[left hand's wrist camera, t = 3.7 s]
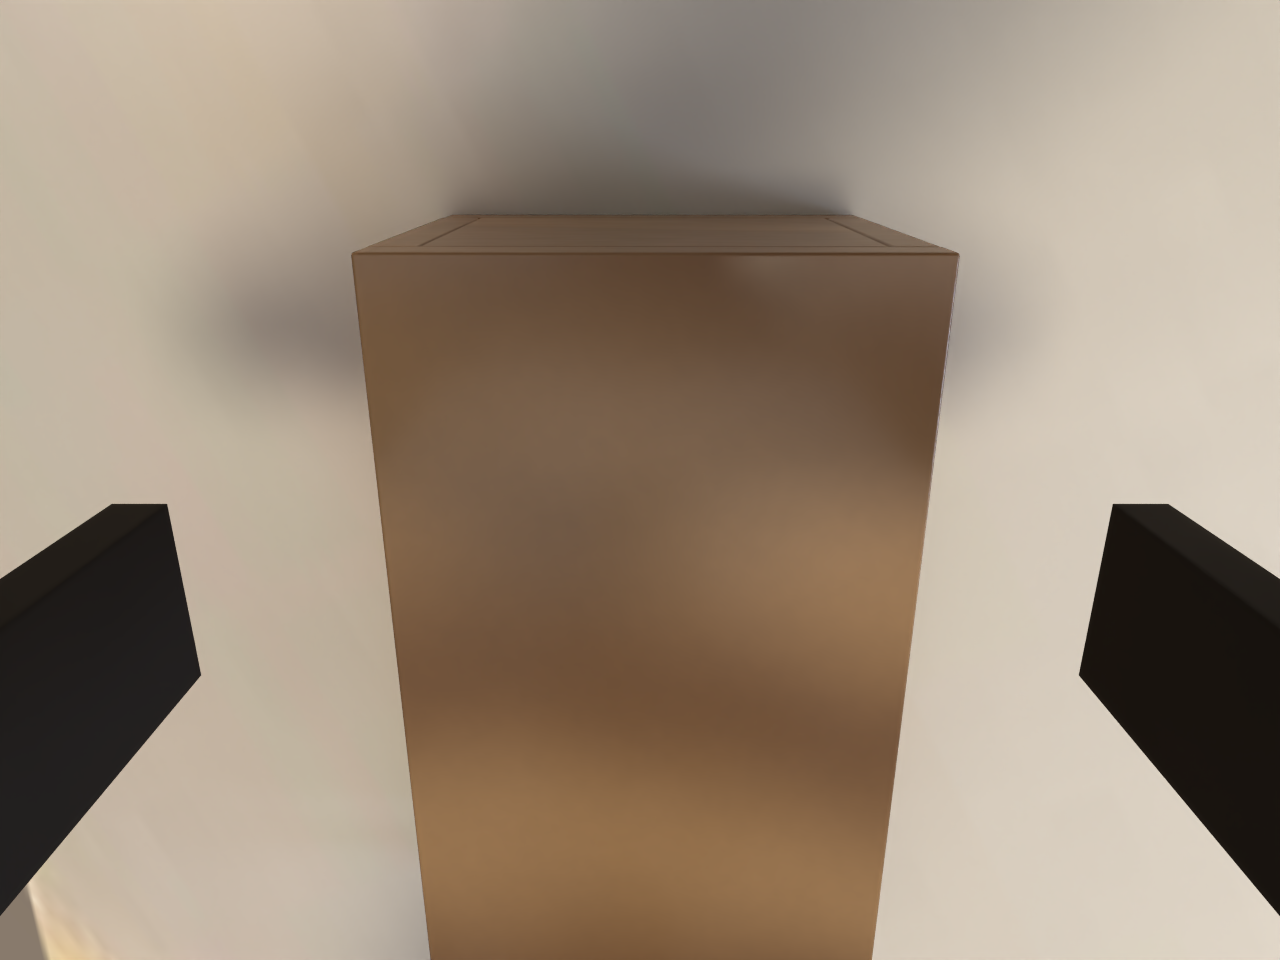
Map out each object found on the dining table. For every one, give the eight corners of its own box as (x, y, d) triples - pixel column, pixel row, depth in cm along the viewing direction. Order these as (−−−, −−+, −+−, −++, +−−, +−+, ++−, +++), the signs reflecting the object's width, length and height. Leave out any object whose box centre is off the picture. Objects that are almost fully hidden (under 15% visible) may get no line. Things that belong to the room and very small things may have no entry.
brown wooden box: (806, 804, 29) (862, 1038, 22) (492, 803, 29) (438, 1035, 22) (855, 215, 23) (961, 252, 15) (449, 214, 23) (349, 252, 15)
